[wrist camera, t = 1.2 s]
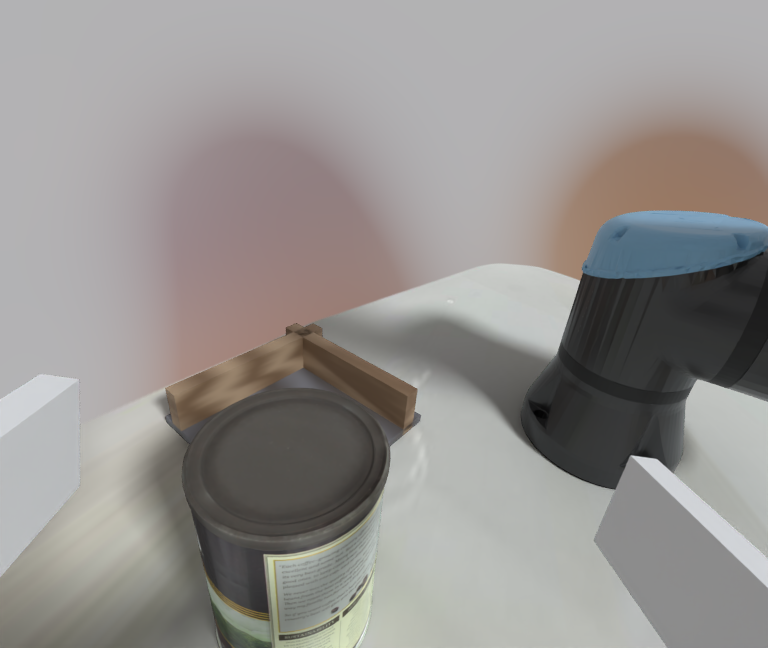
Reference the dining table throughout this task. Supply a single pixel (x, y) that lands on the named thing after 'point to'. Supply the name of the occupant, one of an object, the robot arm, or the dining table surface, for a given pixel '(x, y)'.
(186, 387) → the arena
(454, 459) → the dining table surface
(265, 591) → the coffee can
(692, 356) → the robot arm
